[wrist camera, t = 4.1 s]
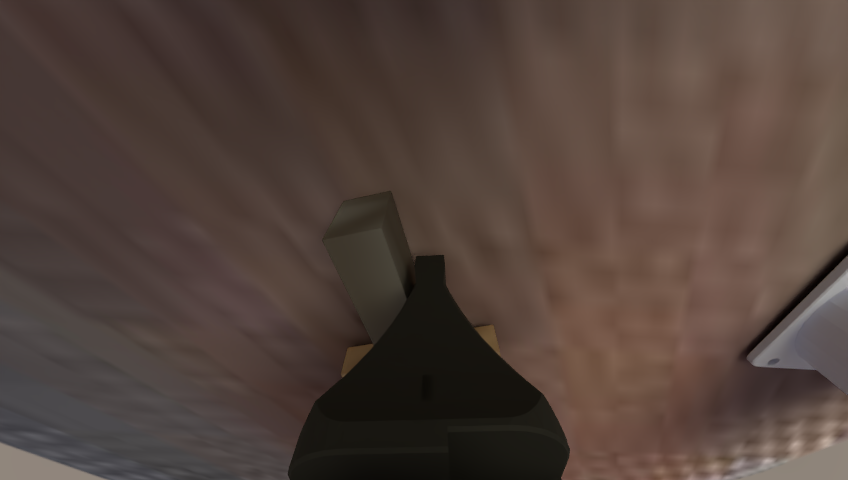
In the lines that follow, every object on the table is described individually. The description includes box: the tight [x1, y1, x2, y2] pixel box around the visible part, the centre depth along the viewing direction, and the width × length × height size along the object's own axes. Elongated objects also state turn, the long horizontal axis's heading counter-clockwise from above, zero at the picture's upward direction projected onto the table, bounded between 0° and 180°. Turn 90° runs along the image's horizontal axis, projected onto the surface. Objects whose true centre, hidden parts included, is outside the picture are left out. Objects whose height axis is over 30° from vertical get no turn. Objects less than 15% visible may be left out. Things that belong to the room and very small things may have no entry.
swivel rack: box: [322, 191, 501, 377], centre depth 14 cm, size 7×15×3 cm, turn 13°
